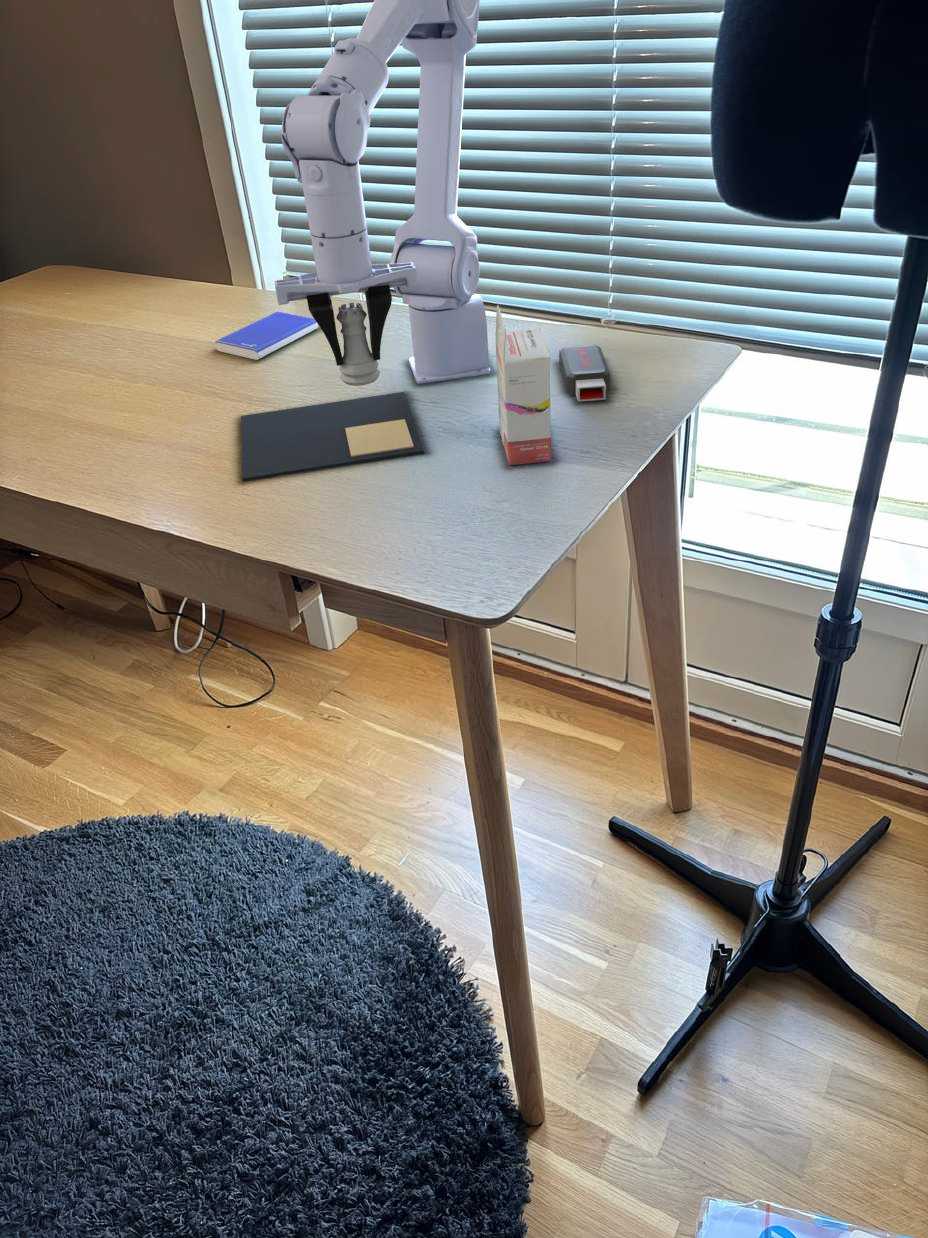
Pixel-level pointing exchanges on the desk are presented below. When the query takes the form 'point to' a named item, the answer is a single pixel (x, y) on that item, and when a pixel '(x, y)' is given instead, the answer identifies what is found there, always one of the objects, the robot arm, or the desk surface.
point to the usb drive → (584, 372)
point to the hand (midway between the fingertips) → (357, 359)
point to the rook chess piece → (356, 348)
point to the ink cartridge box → (523, 393)
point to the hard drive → (266, 335)
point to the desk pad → (327, 436)
